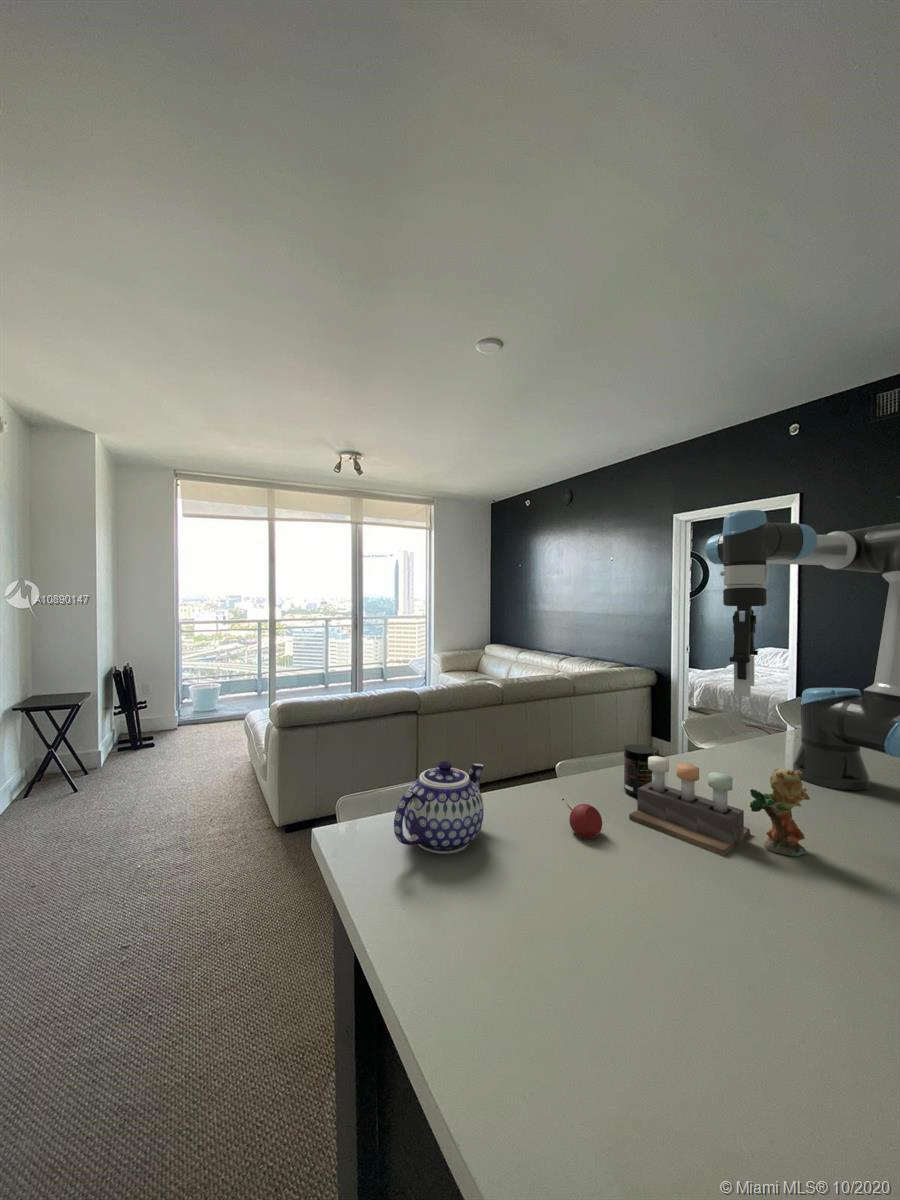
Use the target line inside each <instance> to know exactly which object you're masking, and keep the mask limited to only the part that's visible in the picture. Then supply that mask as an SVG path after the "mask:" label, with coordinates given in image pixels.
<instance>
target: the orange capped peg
mask: <svg viewBox="0 0 900 1200" xmlns="http://www.w3.org/2000/svg"><path fill="white" fill-rule="evenodd" d="M676 777H677V778H678V779H680V791H681V800H683V801H686V802H694V801H695V795H696V794H695V793H696V792H695V788H696V787H695V786H696V785H695V782H697V781H699V780H700V768H699V767H698V766H696V765H694V764H689V763H677V764H676Z"/></svg>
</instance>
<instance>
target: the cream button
mask: <svg viewBox="0 0 900 1200" xmlns="http://www.w3.org/2000/svg"><path fill="white" fill-rule="evenodd" d="M648 768H649V769H650V770H652V790H653V791H655V792H659V793H663V792H665V786H666V785H665V783H666V781H665V780H666V777H665V776H666V773H668V772H669V771H670V759H669V758H666V757H663V756H659V755H658V756H657V755H655V756H651V757H648Z"/></svg>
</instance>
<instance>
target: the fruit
mask: <svg viewBox="0 0 900 1200" xmlns="http://www.w3.org/2000/svg"><path fill="white" fill-rule="evenodd" d="M561 800H562V801H565V799H564V798H562V799H561ZM565 803H566V805H567V807H568V808H569V810H570V814H569V817H568V818H569V819H568V820H569V825H570V828H571V830H572V832H573V833H574V834H575V835H576V836H578V837H580V838H583V839H594V838H595V837H597V836H598V835H599V834H600V833H601V831H602V828H603V819H602V816H601V814H600V811H598V809H597V808H595V807H594V806H593V805H590V804H588V803H581V804H580V803H579V804H577V805H576V806H574V807H573V808H572V807H571V806H570V805H569V804H568V803H567V801H565Z"/></svg>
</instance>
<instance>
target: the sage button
mask: <svg viewBox="0 0 900 1200" xmlns="http://www.w3.org/2000/svg"><path fill="white" fill-rule="evenodd" d="M707 776H708V777H707V784H708V787H709V788H712V801H713V810H714V811H717V812H720V813H727V805H728V794H729V793H728V792H729V791H732V790H733V776H731V775H730V774H727V773H723V772H717V771H711V772H708V775H707Z"/></svg>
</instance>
